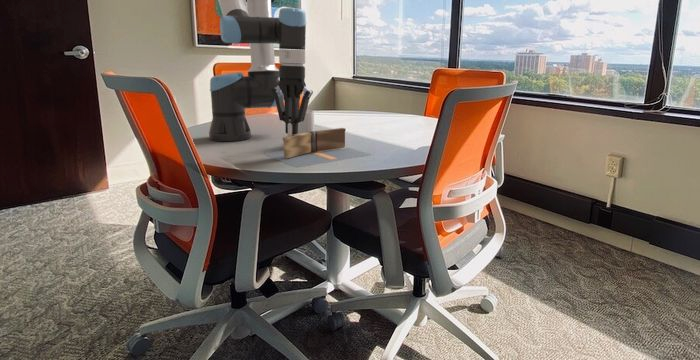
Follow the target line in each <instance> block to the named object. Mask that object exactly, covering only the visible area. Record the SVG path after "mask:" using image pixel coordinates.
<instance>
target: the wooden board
mask: <svg viewBox="0 0 700 360" xmlns="http://www.w3.org/2000/svg"><path fill="white" fill-rule="evenodd" d="M282 141H283V151H284V158H290V157H294V156H298V155H302V154H305V153H309V152H311V133H309V132H306V133H301V134H296V135H292V136H288V135H287V136H282Z"/></svg>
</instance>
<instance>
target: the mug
mask: <svg viewBox="0 0 700 360" xmlns="http://www.w3.org/2000/svg"><path fill="white" fill-rule="evenodd" d="M311 131H314V132H315V110H311V109H307V111H306V115H305V119H304V121H302V122H299V123H298V133H297V134H301V133H306V132H311Z"/></svg>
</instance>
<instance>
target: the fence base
mask: <svg viewBox="0 0 700 360" xmlns="http://www.w3.org/2000/svg"><path fill="white" fill-rule="evenodd" d="M309 133H311V153H314V152H316V151H324V150H331V149H338V148H344V147H346V128H345V127H338V128H330V129H320V130H314V131H311V132H309Z"/></svg>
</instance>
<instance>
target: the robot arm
mask: <svg viewBox="0 0 700 360" xmlns="http://www.w3.org/2000/svg"><path fill="white" fill-rule="evenodd" d="M217 1H218V4H219V8H220V11H221V14H222V16H221V17H220V18H219V19H220V20H219V33H220V39H221V40H222V42H224V43H226V44H229V43H230V44H234V45H235V44H236V45H237V44H249V49H250V50H249V51H250V61H251V62H250V63H251V66H250V68H249V69H248V70H247V75H246V76H245V75H244V74H243V72H241V71H239V72H229V73H224V74H223V73H222V74H217V75H213V76H212V77H211V78H210V80H209V85H210V86H209V91H210V100H211V111H212V112H211V113H212V119H211V123H210V126H209V130H208V139H209V140H211V141H216V142H237V141H244V140H248V139H251V138H252V130H251V128H250V125H249V123H248V120H247V118H246V109H263V108H268V109H272V108H277V109H276V110H277V114H278V118H279V120H280V121H282V122H284V124H285V134H287V136H292V135H296V134H297V133H298V123H299V122H302V121H304V119H305V115H306V111H307V110H308V105H309V102H310V98H311V96H312V95H313V93H314V91H313V90H310V89H309V88H308V87H307V85H306V82H305V81H306V80H305V79H306V66H304V65H305V64H306V31H307V29H306V28H307V20H306V16H307V15H306V11H305V10H304V9H301V8H293V7H282V8H280V10H279V11H278V17H273V13H272V12H273V11H272V0H246V4H245V2H244V0H217ZM275 44H277V45H279V47H278V48H279V49H278V50H279V51H278V52H279V53H278V59H279V61H278V62H279V63H280V65H279V66H278V67H276V61H275V59H276V58H275V46H274V45H275ZM301 95H303V96H302V98H301ZM300 100H301V102H300Z"/></svg>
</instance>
